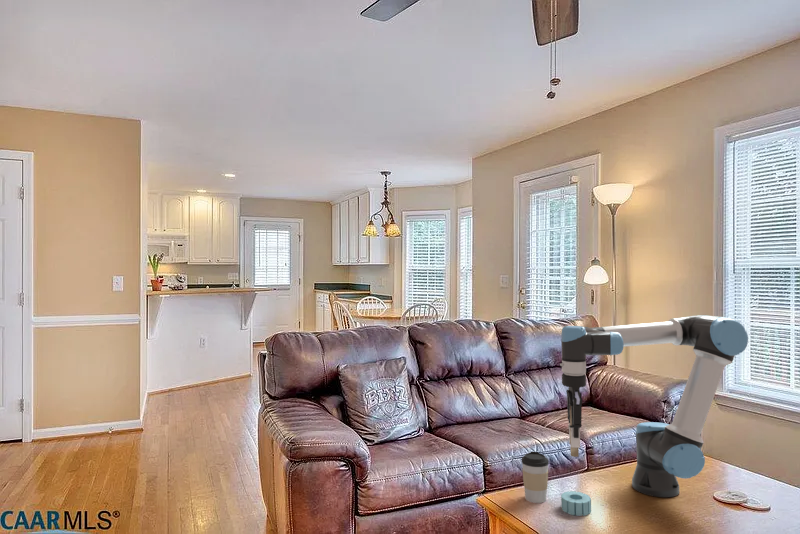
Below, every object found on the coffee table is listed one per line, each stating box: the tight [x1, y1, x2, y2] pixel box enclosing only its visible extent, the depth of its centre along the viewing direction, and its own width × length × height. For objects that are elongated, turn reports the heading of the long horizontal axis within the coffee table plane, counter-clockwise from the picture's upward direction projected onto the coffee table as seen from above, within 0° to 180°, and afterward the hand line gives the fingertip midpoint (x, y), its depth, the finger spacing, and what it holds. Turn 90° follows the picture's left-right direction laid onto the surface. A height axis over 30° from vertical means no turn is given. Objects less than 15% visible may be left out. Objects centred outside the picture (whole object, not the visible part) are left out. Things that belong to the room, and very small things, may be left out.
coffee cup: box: [521, 451, 550, 504], centre depth 179 cm, size 9×9×15 cm
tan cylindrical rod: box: [569, 406, 580, 458], centre depth 171 cm, size 2×2×16 cm
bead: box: [560, 490, 592, 517], centre depth 171 cm, size 9×9×4 cm
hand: (574, 445), depth 171 cm, fingers closed on tan cylindrical rod, 2 cm apart
